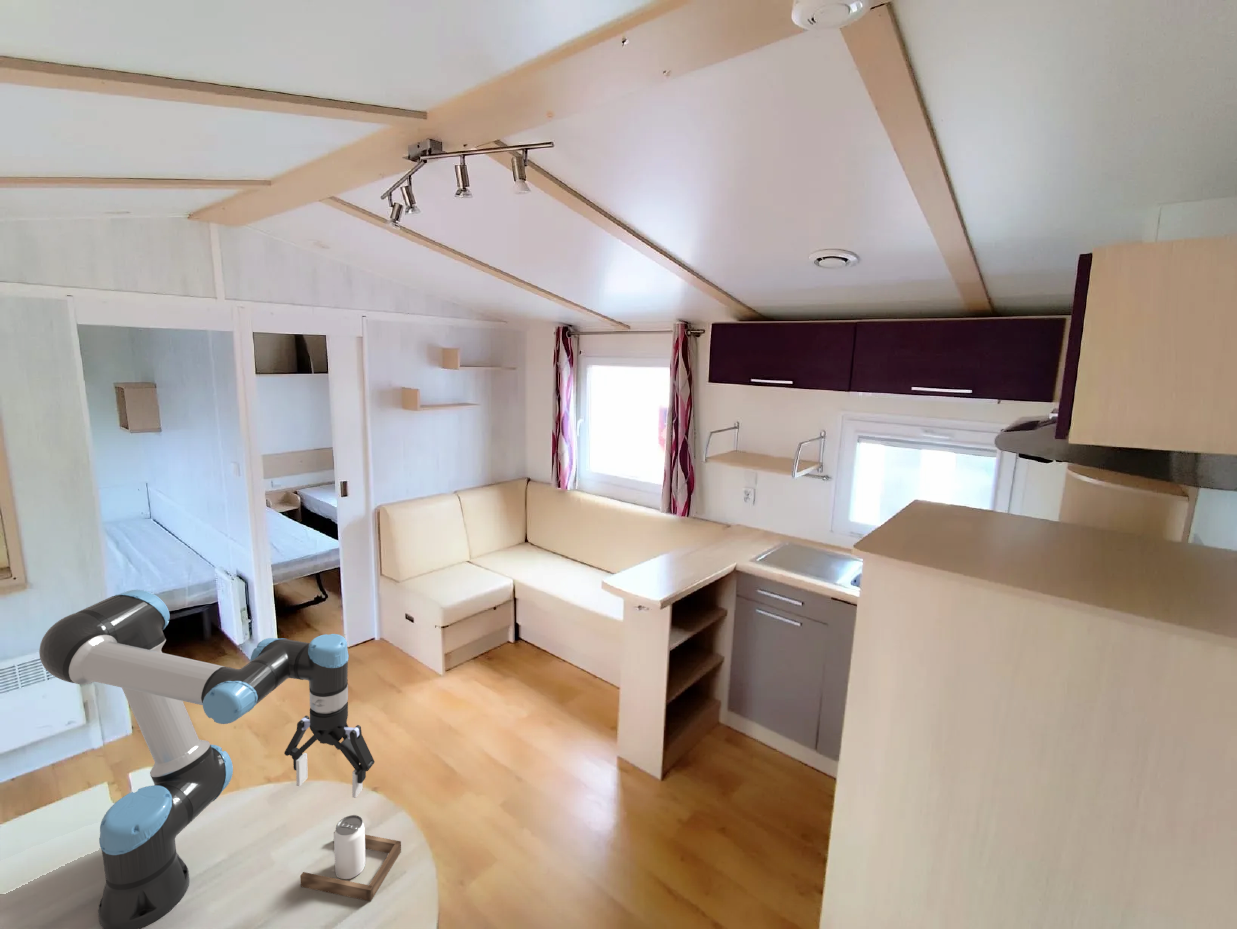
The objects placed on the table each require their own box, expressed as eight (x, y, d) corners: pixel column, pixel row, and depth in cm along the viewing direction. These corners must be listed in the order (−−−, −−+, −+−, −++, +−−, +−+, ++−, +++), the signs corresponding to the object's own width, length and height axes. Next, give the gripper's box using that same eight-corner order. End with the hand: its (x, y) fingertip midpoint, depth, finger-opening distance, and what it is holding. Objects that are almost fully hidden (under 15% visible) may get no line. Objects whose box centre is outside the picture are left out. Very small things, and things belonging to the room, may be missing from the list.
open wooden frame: (300, 886, 129) (300, 875, 128) (336, 839, 141) (336, 828, 141) (370, 901, 126) (370, 890, 126) (401, 851, 139) (400, 841, 138)
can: (353, 883, 130) (352, 839, 128) (328, 876, 131) (327, 832, 129) (371, 859, 136) (370, 816, 134) (347, 853, 138) (346, 810, 135)
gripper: (264, 704, 123) (267, 789, 127) (372, 725, 120) (371, 810, 124) (289, 685, 130) (290, 765, 135) (391, 703, 127) (389, 785, 132)
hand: (329, 787), depth 129 cm, fingers open, 13 cm apart
